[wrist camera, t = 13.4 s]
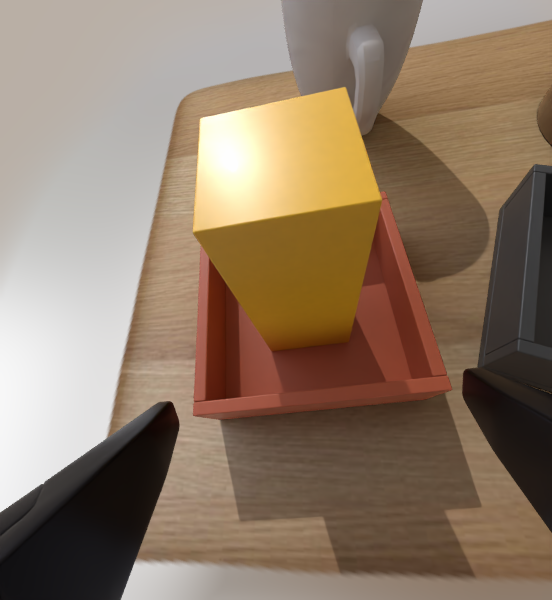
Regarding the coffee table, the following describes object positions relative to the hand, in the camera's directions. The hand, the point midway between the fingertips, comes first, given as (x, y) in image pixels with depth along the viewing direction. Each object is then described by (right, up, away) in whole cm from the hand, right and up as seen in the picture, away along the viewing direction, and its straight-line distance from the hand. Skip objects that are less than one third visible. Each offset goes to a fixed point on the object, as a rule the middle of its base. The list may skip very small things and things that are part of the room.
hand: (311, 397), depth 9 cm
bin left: (+1, +2, +9) cm, 9 cm away
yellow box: (+1, +2, +9) cm, 9 cm away
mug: (+5, +18, +16) cm, 24 cm away
